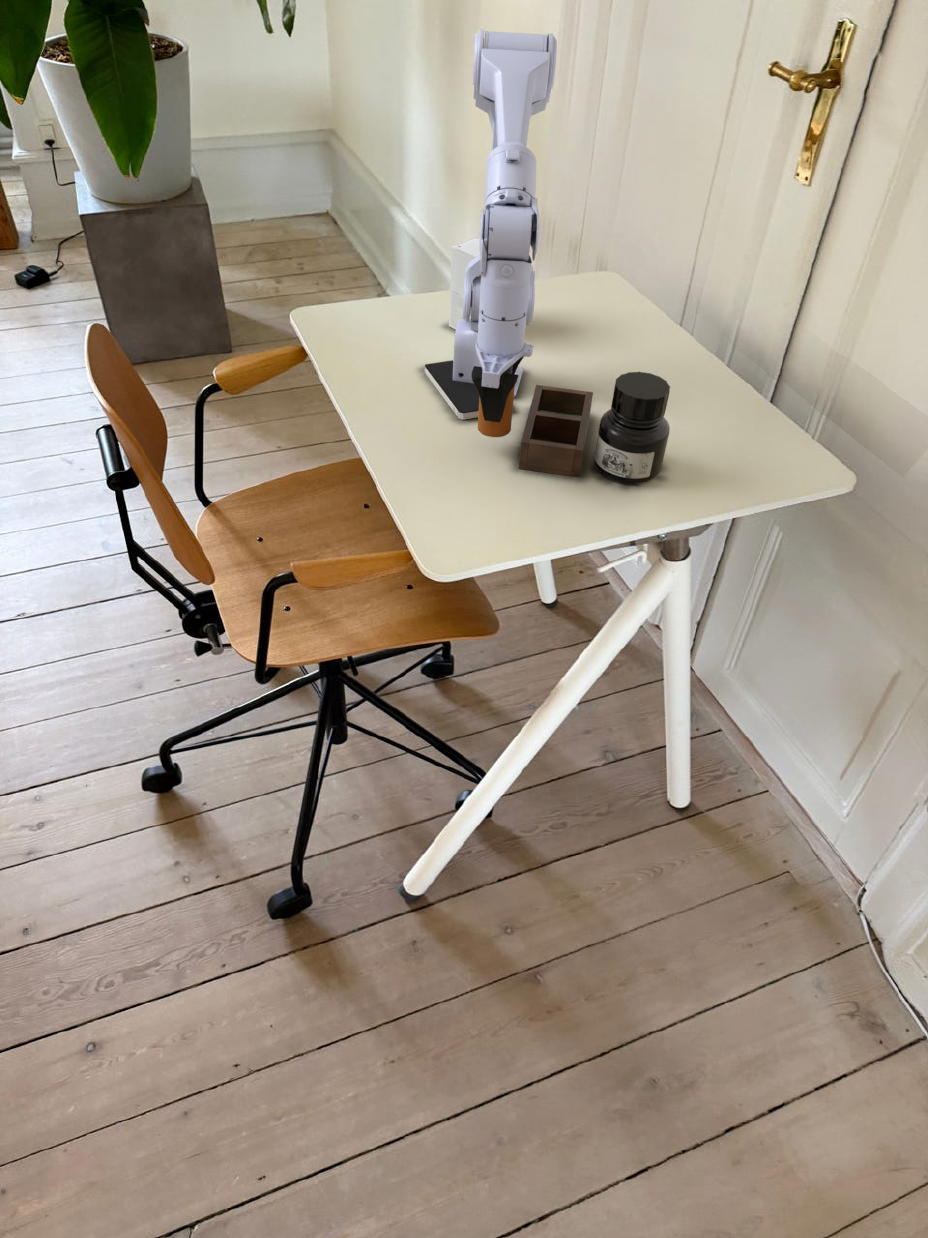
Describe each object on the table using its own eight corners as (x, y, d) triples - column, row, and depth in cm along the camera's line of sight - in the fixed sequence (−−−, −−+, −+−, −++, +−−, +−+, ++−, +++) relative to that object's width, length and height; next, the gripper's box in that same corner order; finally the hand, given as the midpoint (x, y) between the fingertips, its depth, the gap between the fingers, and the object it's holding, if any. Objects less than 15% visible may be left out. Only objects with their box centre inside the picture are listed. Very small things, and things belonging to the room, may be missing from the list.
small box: (475, 340, 146) (479, 258, 137) (447, 326, 150) (450, 245, 141) (510, 325, 151) (517, 245, 142) (483, 312, 154) (487, 232, 145)
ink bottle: (577, 466, 122) (589, 384, 114) (614, 439, 127) (628, 359, 119) (640, 496, 118) (657, 413, 110) (675, 467, 123) (695, 386, 115)
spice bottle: (474, 434, 121) (478, 368, 114) (480, 417, 124) (484, 351, 117) (508, 439, 120) (514, 373, 114) (513, 421, 123) (519, 356, 117)
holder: (518, 468, 121) (521, 441, 118) (533, 410, 132) (536, 384, 129) (579, 477, 120) (583, 450, 117) (589, 417, 131) (593, 391, 128)
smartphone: (472, 356, 141) (512, 404, 131) (472, 364, 141) (512, 412, 131) (422, 364, 138) (459, 413, 128) (422, 371, 139) (459, 421, 129)
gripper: (528, 342, 105) (518, 444, 114) (543, 288, 115) (533, 386, 125) (466, 334, 106) (461, 436, 115) (488, 281, 116) (482, 379, 125)
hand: (495, 410), depth 120 cm, fingers closed on spice bottle, 4 cm apart
